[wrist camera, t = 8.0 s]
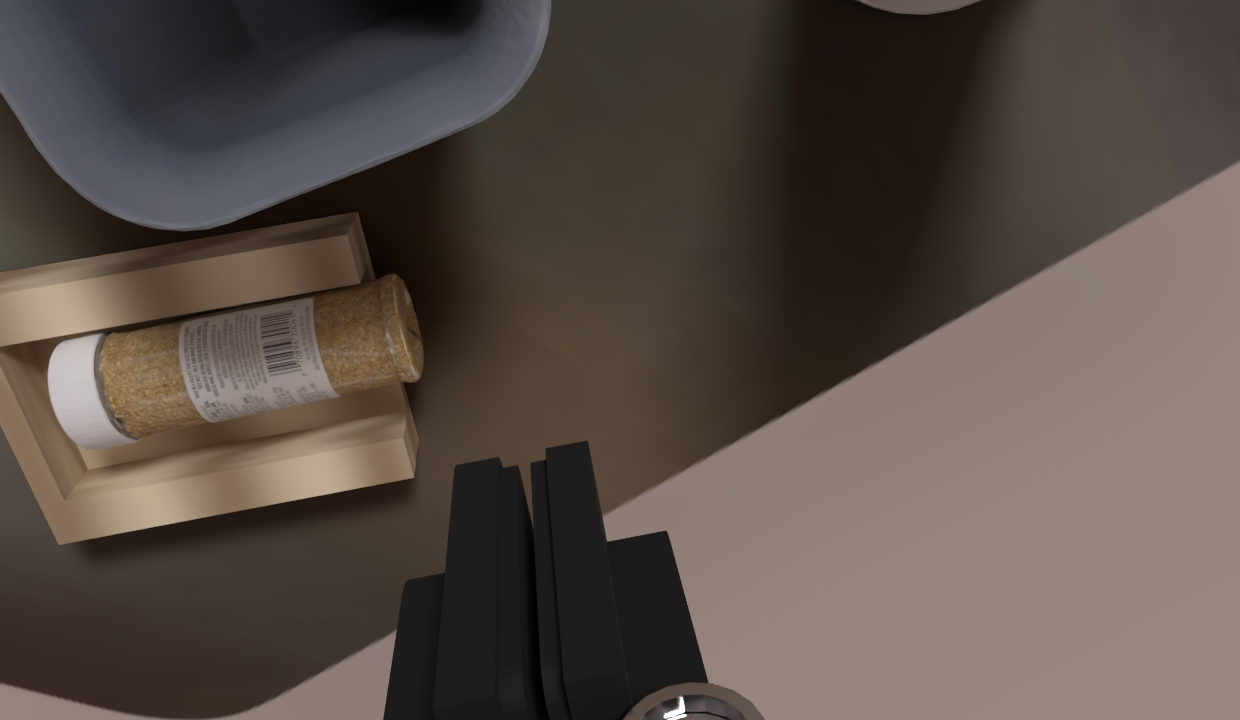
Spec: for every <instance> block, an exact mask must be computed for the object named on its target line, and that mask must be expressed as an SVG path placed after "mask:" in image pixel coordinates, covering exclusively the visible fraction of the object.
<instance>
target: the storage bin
mask: <svg viewBox="0 0 1240 720" xmlns="http://www.w3.org/2000/svg"><path fill="white" fill-rule="evenodd" d="M550 15H551V0H0V92H1V94H2V95H3V97H4V99H5V100H6V102H7V103H8V105H9V106H10V108H11V109H12V111H13V112H14V114H15V115H16V117H17V118H18V119H19V121H20V123H21V125H22V126H23V128H24V130H25V131H26V133H27V134H28V136H29V138H30V139H31V141H32V142H33V144H34V145H35V147H36V148H37V150H38V151H39V152H40V153H41V155H42V156H43V157H44V158H45V160H46V161H47V162H48V163H49V165H50V166H51V167H52V169H53V170H54V171H55V172H56V174H58V175H59V176H60V177H61V178H62V179H63V180H64V181H65V182H66V183H67V184H69V185H70V186H71V187H72V188H73V189H74V190H75V191H76V192H77V193H79V194H80V195H81V196H82V197H84V198H85V199H87V200H88V201H90V202H91V203H92V204H94V205H95V206H97V207H98V208H100V209H102V210H104V211H106V212H108V213H110V214H112V215H114V216H116V217H118V218H121V219H124V220H127V221H130V222H132V223H135V224H138V225H140V226H145V227H149V228H153V229H162V230H174V231H193V230H204V229H211V228H214V227H218V226H221V225H225V224H228V223H231V222H233V221H236V220H238V219H241V218H243V217H246V216H248V215H251V214H253V213H256V212H258V211H261V210H263V209H266V208H268V207H271V206H273V205H276V204H278V203H281V202H283V201H286V200H288V199H291V198H294V197H296V196H299V195H301V194H304V193H307V192H309V191H312V190H314V189H317V188H320V187H322V186H325V185H327V184H330V183H332V182H335V181H338V180H340V179H343V178H345V177H348V176H351V175H353V174H356V173H358V172H361V171H364V170H366V169H369V168H371V167H374V166H376V165H379V164H381V163H384V162H386V161H389V160H391V159H393V158H396V157H398V156H401V155H403V154H406V153H408V152H411V151H413V150H416V149H418V148H421V147H423V146H425V145H428V144H430V143H433V142H435V141H438V140H440V139H443V138H445V137H448V136H450V135H452V134H455V133H457V132H459V131H462V130H464V129H466V128H469V127H471V126H473V125H476V124H478V123H480V122H482V121H484V120H485V119H487V118H489V117H490V116H492V115H494V114H495V113H497V112H498V111H499V110H500V109H501V108H502V107H504V106H505V105H506V104H507V103H508V102H509V101H510V100H512V99H513V98H514V97H515V96H516V94H517V93H518V92H519V91H520V90H521V88H522V87H523V86H524V85H525V84H526V82H527V80H528V79H529V77H530V75H531V74H532V72H533V70H534V69H535V67H536V65H537V63H538V61H539V59H540V56H541V54H542V51H543V48H544V44H545V41H546V37H547V33H548V29H549V22H550Z"/></svg>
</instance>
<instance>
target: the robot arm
mask: <svg viewBox="0 0 1240 720" xmlns="http://www.w3.org/2000/svg"><path fill="white" fill-rule="evenodd" d="M855 1H857V2H860V3H862V4H865V5H867V6H870V7H872V8H875V9H879V10H885V11H889V12H894V13H900V14H920V15H928V14H935V13H941V12H947V11H953V10H957V9H960V8H962V7H965V6H968V5H970V4H973V3H976V2H978V1H981V0H855ZM545 450H546V460H543V461H538V462H532V463H531V484H532V504H533V524H534V530H533V526H532V522H531V517H530V513H529V509H528V504H527V500H526V496H525V491H524V487H523V483H522V478H521V474H520V470H519V467H518V465H516V466H511V467H506V468H503V466H502V463H501V460H500V458H499V457H497V458H492V459H486V460H481V461H475V462H470V463H465V464H459V465H456V466H455V470H454V480H453V491H452V502H451V513H450V524H449V535H448V546H447V557H446V568H445V573H442V574H437V575H431V576H426V577H421V578H416V579H410V580H408V581H407V582H406V583H405V585H404V589H403V593H402V600H401V607H400V613H399V620H398V626H397V633H396V640H395V647H394V653H393V659H392V666H391V672H390V679H389V686H388V692H387V699H386V705H385V712H384V718H383V720H765V719H764V717H763V716H762V715H761V713H760V712H759V711H758V710H757V709H756V707H755V706H754V705H753V703H752V702H751V701H749V700H748V699H746V698H745V697H743V696H742V695H740V694H739V693H737V692H736V691H734V690H731V689H728V688H725V687H721V686H719V685H715V684H712V683H711V684H710V683H708V679H707V676H706V672H705V668H704V664H703V661H702V657H701V653H700V650H699V646H698V642H697V639H696V635H695V631H694V628H693V624H692V620H691V616H690V613H689V609H688V605H687V602H686V598H685V594H684V591H683V587H682V583H681V580H680V576H679V572H678V568H677V565H676V561H675V557H674V554H673V550H672V546H671V543H670V539H669V536H668V533H667V531H662V532H656V533H652V534H646V535H641V536H636V537H630V538H625V539H620V540H614V541H610V542H607V539H606V534H605V529H604V524H603V518H602V513H601V508H600V502H599V497H598V492H597V487H596V481H595V476H594V471H593V465H592V460H591V455H590V450H589V445H588V441H583V442H577V443H572V444H567V445H561V446H556V447H550V448H546V449H545Z"/></svg>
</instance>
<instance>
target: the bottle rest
mask: <svg viewBox="0 0 1240 720" xmlns="http://www.w3.org/2000/svg"><path fill="white" fill-rule="evenodd" d="M373 280H376V278H375V274H374V271H373V267H372V263H371V259H370V256H369V252H368V248H367V244H366V241H365V237H364V233H363V230H362V226H361V222H360V218H359V215H358V212H353V213H347V214H341V215H335V216H329V217H323V218H318V219H312V220H306V221H300V222H294V223H288V224H282V225H276V226H271V227H265V228H259V229H253V230H247V231H241V232H235V233H229V234H224V235H218V236H212V237H206V238H200V239H194V240H188V241H182V242H176V243H171V244H165V245H159V246H153V247H147V248H141V249H135V250H129V251H124V252H118V253H112V254H106V255H100V256H94V257H88V258H82V259H77V260H71V261H65V262H59V263H53V264H47V265H41V266H35V267H30V268H24V269H18V270H12V271H6V272H0V425H1V427H2V429H3V432H4V434H5V436H6V438H7V440H8V442H9V444H10V446H11V448H12V450H13V452H14V454H15V456H16V458H17V460H18V462H19V464H20V466H21V468H22V470H23V472H24V474H25V477H26V479H27V481H28V483H29V485H30V487H31V489H32V491H33V493H34V495H35V497H36V499H37V501H38V503H39V505H40V507H41V509H42V511H43V513H44V515H45V517H46V519H47V521H48V524H49V526H50V528H51V530H52V532H53V534H54V536H55V538H56V540H57V542H58V544H59V545H61V544H66V543H72V542H77V541H82V540H87V539H93V538H98V537H103V536H109V535H114V534H119V533H124V532H130V531H135V530H140V529H146V528H151V527H156V526H162V525H167V524H172V523H177V522H183V521H188V520H193V519H199V518H204V517H209V516H214V515H220V514H225V513H230V512H236V511H241V510H246V509H251V508H257V507H262V506H267V505H273V504H278V503H283V502H288V501H294V500H299V499H304V498H310V497H315V496H320V495H325V494H331V493H336V492H341V491H347V490H352V489H357V488H362V487H368V486H373V485H378V484H384V483H389V482H394V481H400V480H405V479H410V478H414V475H415V467H416V459H417V452H418V444H419V439H418V435H417V431H416V427H415V424H414V420H413V416H412V413H411V409H410V405H409V401H408V398H407V394H406V390H405V386H404V383H403V382H398V383H395V384H389V385H383V386H380V387H375V388H370V389H366V390H362V391H354V392H351V393H346V394H343V395H342V396H339V397H335V398H330V399H325V400H321V401H316V402H311V403H306V404H301V405H296V406H291V407H286V408H281V409H276V410H272V411H267V412H262V413H257V414H252V415H248V416H243V417H238V418H234V419H229V420H224V421H220V422H214V423H213V422H208V423H203V424H198V425H191V426H188V427H186V428H180V429H173V430H170V431H166V432H160V433H155V434H152V435H150V436H146V437H144V438H142V439H141V440H139V441H138V442H135V443H131V444H126V445H122V446H117V447H111V448H106V449H100V450H89V449H85V448H83V447H81V446H79V445H77V444H76V443H75V442H74V441H72V440H71V439H70V438H69V436H68V435H67V434H66V433H65V431H64V430H63V428H62V427H61V425H60V423H59V421H58V419H57V417H56V415H55V412H54V410H53V407H52V403H51V399H50V395H49V389H48V367H49V361H50V358H51V355H52V353H53V351H54V350H55V348H56V347H57V346H58V345H59V344H60V343H61V342H63V341H64V340H67V339H70V338H74V337H78V336H82V335H86V334H90V333H95V332H100V331H105V330H111V331H115V330H117V331H118V330H121V331H129V330H134V329H138V328H145V327H149V326H154V325H157V324H163V323H167V322H170V321H176V320H182V319H185V318H190V317H195V316H199V315H203V314H209V313H213V312H218V311H225V310H228V309H233V308H237V307H238V306H240V305H244V304H248V303H253V302H258V301H264V300H269V299H275V298H281V297H286V296H292V295H298V294H304V293H309V292H315V291H322V290H326V289H333V288H338V287H343V286H349V285H355V284H361V283H362V282H369V281H373Z"/></svg>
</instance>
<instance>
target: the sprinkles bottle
mask: <svg viewBox="0 0 1240 720" xmlns="http://www.w3.org/2000/svg"><path fill="white" fill-rule="evenodd" d="M423 363H424V351H423V346H422V340H421V334H420V329H419V324H418V320H417V317H416V314H415V311H414V308H413V303H412V300H411V297H410V295H409V292H408V290H407V288H406V286H405V284H404V282H403V280H402V279H401V278H400V277H399V276H398V275H396V274H388V275H385V276H383V277H382V278H379V279H377V280H373V281H369V282H362V283H361V284H355V285H349V286H343V287H338V288H333V289H326V290H322V291H315V292H309V293H304V294H298V295H292V296H286V297H281V298H275V299H269V300H264V301H258V302H253V303H248V304H244V305H240V306H238V307H237V308H233V309H228V310H225V311H218V312H213V313H209V314H203V315H199V316H195V317H190V318H185V319H182V320H176V321H170V322H167V323H163V324H157V325H154V326H149V327H145V328H138V329H134V330H129V331H121V330H118V331H117V330H115V331H111V330H105V331H100V332H95V333H90V334H86V335H82V336H78V337H74V338H70V339H67V340H64V341H63V342H61V343H60V344H59V345H58V346H57V347H56V348H55V350H54V351H53V353H52V355H51V358H50V361H49V367H48V389H49V395H50V399H51V403H52V407H53V410H54V412H55V415H56V417H57V419H58V421H59V423H60V425H61V427H62V428H63V430H64V431H65V433H66V434H67V435H68V436H69V438H70V439H71V440H72V441H74V442H75V443H76V444H77V445H79V446H81V447H83V448H85V449H89V450H100V449H106V448H111V447H117V446H122V445H126V444H131V443H135V442H138V441H139V440H141V439H142V438H144V437H146V436H150V435H152V434H155V433H160V432H166V431H170V430H173V429H180V428H186V427H188V426H191V425H198V424H203V423H208V422H213V423H214V422H220V421H224V420H229V419H234V418H238V417H243V416H248V415H252V414H257V413H262V412H267V411H272V410H276V409H281V408H286V407H291V406H296V405H301V404H306V403H311V402H316V401H321V400H325V399H330V398H335V397H339V396H342V395H343V394H346V393H351V392H354V391H362V390H366V389H370V388H375V387H380V386H383V385H389V384H395V383H398V382H409V383H413V382H416V381H418V380H419V379H420V377H421V375H422V370H423Z"/></svg>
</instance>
